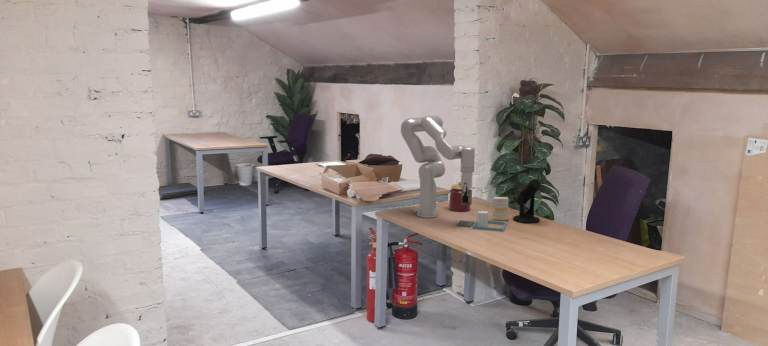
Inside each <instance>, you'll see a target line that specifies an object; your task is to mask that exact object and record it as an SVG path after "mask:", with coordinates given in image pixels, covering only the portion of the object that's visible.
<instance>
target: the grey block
mask: <svg viewBox="0 0 768 346" xmlns="http://www.w3.org/2000/svg"><path fill="white" fill-rule="evenodd" d="M488 218H489V211H487V210H478V212H477V219H476V220H477V225H476V226H482V227H488V225H489V224H488V221H489V219H488Z"/></svg>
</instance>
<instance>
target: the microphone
mask: <svg viewBox="0 0 768 346" xmlns="http://www.w3.org/2000/svg"><path fill="white" fill-rule="evenodd" d="M541 187H542V184H541V182H540V181H539V180H537V179H531V180H530V181H529V182H528V184H526V185H525V187H524V188H522V190H520V191H519V194H518V195H517V196H516V200H515V203H516V204H517V205H518V206H519V213H518V215H514V216H513V218H512V220H513V221H514V222H516V223H520V224H524V225H525V224H528V225H529V224H533V225H534V224H538V223H540V222H541V221H540V218H539V217H538V216H535V194H536V193H538V191H539V190H540V189H541ZM528 202H530V203H529V209H528V211H525V205H526V204H527V203H528Z"/></svg>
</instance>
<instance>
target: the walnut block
mask: <svg viewBox="0 0 768 346" xmlns="http://www.w3.org/2000/svg"><path fill="white" fill-rule="evenodd" d="M466 190H467V189H466ZM466 192H467V191H466ZM468 196H469V202H468V203H463V190H462V193H461V205H468V206H470V207H471V206H472V204H473V189H470V190H469V191H468Z"/></svg>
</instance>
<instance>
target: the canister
mask: <svg viewBox="0 0 768 346" xmlns="http://www.w3.org/2000/svg"><path fill="white" fill-rule="evenodd" d="M450 187H451V188H450V190H449V192H450V195H449V210H450V211H454V212H459V213H460V212H462V213H463V212H469V211H470V209H471V205H470V206H468V205H461V193H462V190H461V181H459V182H458V183H455V184H453V185H451V186H450Z"/></svg>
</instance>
